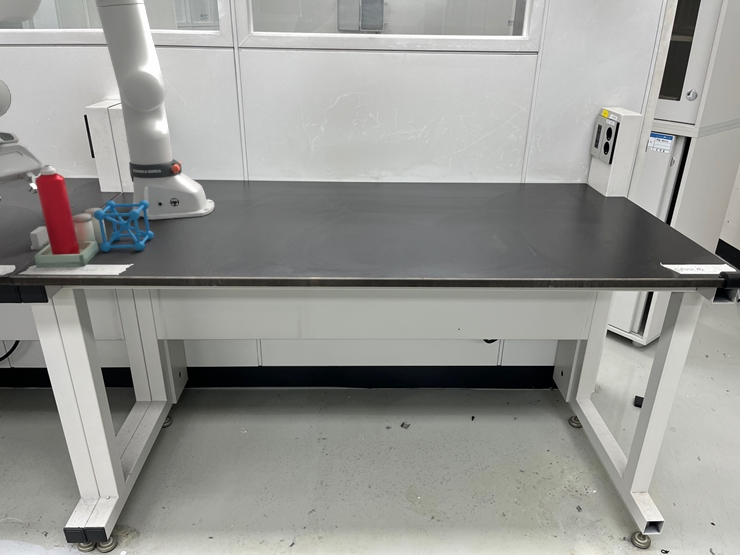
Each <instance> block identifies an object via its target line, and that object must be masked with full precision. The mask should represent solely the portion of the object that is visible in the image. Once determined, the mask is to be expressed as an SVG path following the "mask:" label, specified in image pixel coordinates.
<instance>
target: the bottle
mask: <svg viewBox="0 0 740 555" xmlns="http://www.w3.org/2000/svg"><path fill="white" fill-rule="evenodd" d="M35 182H36V187H37V191H38V193H37V194H38V198H39V203H40V208H41V212H42V216H43V221H44V226H45V227H46V230H47V234H48V238H49V244H50V247H51V251H52V255H60V254H80V250H79V245H78V240H77V236H76V231H75V229H76V228H75V223H74V221H73V214H72V208H71V203H70V197H69V194H68V189H67V184H66V179H65V177H64V176H63V175H62V174H59V173H57V169H56V168H55V167H52V165H48V164H47V165H46V164H44V165H42V169H41V170H40V173H39V175H38V176H36V177H35Z"/></svg>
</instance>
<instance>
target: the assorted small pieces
mask: <svg viewBox="0 0 740 555" xmlns="http://www.w3.org/2000/svg"><path fill="white" fill-rule="evenodd" d="M97 210H103V208H101V207H92V208H91V207H89V208H86V209H85V210H84V213H77V214H75V215H72V217H73V221H74V226H75V231H76V236H77V240H78V245H79V250H80V254H60V255H52V251H51V247H50V242H49V238H48V234H47V230H46V226H38V227H37V228H35V229H34V230H32V231H31V232H30V233H29V236H30V240H31V244H32V245H30V249H31V250H32V251H35V250H36V251H38V250H39V252H37V253H36V254H35V255H34V256H33V259H34V262H35V266H36V268H53V267H55V268H56V267H57V268H58V267H62V268H63V267H86V266H87V265H88V263H89V262H91V260H92V259H93V258H94V257H95V256H96V255H97V254H98V253H99V252H100V251H99V245H101V243H103V240H102V234H101V229H100V224H99V220H97V219H96V218H95V217H94V213H95V211H97ZM102 221H103V226H104V231H105V237H106V242H108V236H107V232H106V231H107V230H106V226H105V219H103V220H102Z"/></svg>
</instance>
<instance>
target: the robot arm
mask: <svg viewBox="0 0 740 555" xmlns="http://www.w3.org/2000/svg"><path fill="white" fill-rule="evenodd" d="M94 1H95V4H96V7H97V13H98V16H99V20H100V23H101V28H102V30H103V35H104V38H105V42H106V45H107V49H108V54H109V57H110V61H111V65H112V68H113V72H114V75H115V80H116V83H117V87H118V92H119V98H120V104H121V111H122V115H123V116H122V117H123V122H124V124H123V125H124V130H125V136H126V142H127V149H128V153H129V159H130V161H129V163H128V164H129V174H130V175H129V176H130V179H131V182H132V184H133V185H132V186H133V201H132V202H133V203H132V204H139V202H140V201H142V200H145V201H147V202H148V203H149V207H148V209H146V211H147V218H148V221H149V220H163V219H175V218H177V219H179V218H180V219H181V218H193V217H202V216H207V215H208V214H210V213H212V212H213V211H214V209H215V202H214V201H213V200H212V199H209V198H208V199H207V197H206V193H205V191H204V188H203V186H202V185H201V184H200V183H199V182H197V181H196V180H194V179H192V178H191V177H189V176H188V175H186V174H184V173H183V172H182V161H181V160H180V161H178V160H176V159H174V157H173V152H172V150H173V149H172V142H171V136H170V135H171V134H170V128H169V123H168V119H167V111H166V105H165V97H166V93H167V92H166V86H165V85H166V84H165V81H164V77H163V73H162V69H161V66H160V62H159V57H158V55H157V51H156V46H155V42H154V40H153V36H152V30H151V27H150V23H149V19H148V14H147V11H146V10H147V9H146V5H145V4H144V3H145V1H144V0H94ZM41 2H42V0H0V23H11V24H15V23H16V24H17V23H23V22H26V21H28V20H31V19H33V17H34V16H35V15H36V13H37V11H38V10H39V7H40V6H41ZM11 104H12V95H11V91H10V89H9V87H8V85H7V84H6V83H5V82H4V81H3V80H1V79H0V117H3V116H4V115H5V114H6V113H7V111H9V109H10V107H11ZM19 140H20V138H19V137H18V135H16V134H15V133H13V132H5V131H0V186H2V185H5V184H10V183H14V182H18V181H22V180H23V181H24V182H25V183H28V186H27V191H28V192H29V193H30V194H31V195H35V194H38V191H37V187H36V182H35V180H36V178H37V177H38V176H40V170H41V169H42V168H43V163H42V161H41V160H40V159H39V158H38V157H37V155H36V154H35V153H34V152H33V151H32V150H31V149H30V148H29V147H28V146H27V145H25V144H23V143H21V142H19ZM1 201H2V197H1V196H0V202H1ZM138 208H139V207H132V210H134V209H135V210H137V209H138ZM139 213H140V217H143V218H144V213H143V210H141V211H140V212H139Z"/></svg>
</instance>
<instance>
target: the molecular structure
mask: <svg viewBox="0 0 740 555" xmlns="http://www.w3.org/2000/svg"><path fill="white" fill-rule="evenodd" d="M133 207H139V208H138V209H137V210H135V209H134V210H133V209H131V210H130V211H128V212H121V213H120V212H118V211H117V209H116V208H133ZM148 207H149V203H148V202H147V201H145V200H142V201H140V202H139V204H133V203H116V202H115V201H114V200H108V201H107V202H106V203H105V207H104V209H102V210H97V211H95V213H94V217H95V218H96V219H97V220H99V224H100V229H101V234H102V240H103V243H101V244H99V248H100V250H101V251H103V252H105V253H106V252H110V250H111V249H127V248H128V249H130V248H133V249H135V250H136V251H137V252H143V251H144V250H145V248H146V244H145V243H146V241H150V240H152V239H153V238H154V232H153V231H151V230H150V225H149V224H150V223H149V219H148V218H147V211H146V209H148ZM141 210H143V213H144V217H143V218H144V219H143V220H144V223H145V224H144V225H145V231H143V230H141V229H139V228H140V227H139V225H138V219H139V218H140V217H141V216H140V213H139V212H140V211H141ZM107 211H110V213H108V212H107ZM115 217H116V218H117V219H118V220H117V219H116V218H115ZM122 217H128V218H127V220H124V219H123V218H122ZM103 219H104V220H107V221H110V222H111V223H112V229H113V231H112V232H111V234H110V236H111V238H110V239H109V240H107V242H106V237H105V231H104V226H103V221H102V220H103ZM132 221H133V224H134V226H131V223H132ZM117 225H119V229H118V230H117ZM124 231H126V232H127V233H122V232H124ZM132 231H133V232H135V233H133V232H132ZM121 238H131V239H132V240H133V242H134V244H112V243H113V242H114V241H117V242H118V241H119V240H121ZM141 238H143V239H141Z"/></svg>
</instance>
